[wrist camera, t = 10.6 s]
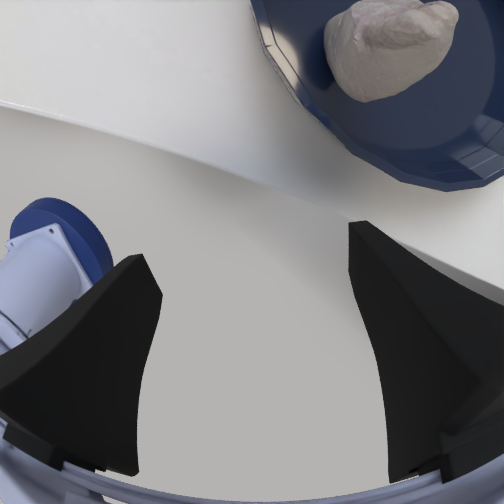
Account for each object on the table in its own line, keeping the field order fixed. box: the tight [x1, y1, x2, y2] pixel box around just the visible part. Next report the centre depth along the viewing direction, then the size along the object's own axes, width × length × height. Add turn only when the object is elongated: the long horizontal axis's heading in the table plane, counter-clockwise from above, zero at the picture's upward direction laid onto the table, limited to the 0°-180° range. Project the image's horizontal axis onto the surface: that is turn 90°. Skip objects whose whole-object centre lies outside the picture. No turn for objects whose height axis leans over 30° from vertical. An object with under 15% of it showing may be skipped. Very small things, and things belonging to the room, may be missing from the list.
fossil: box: [324, 0, 459, 103], centre depth 9 cm, size 6×4×10 cm, turn 155°
